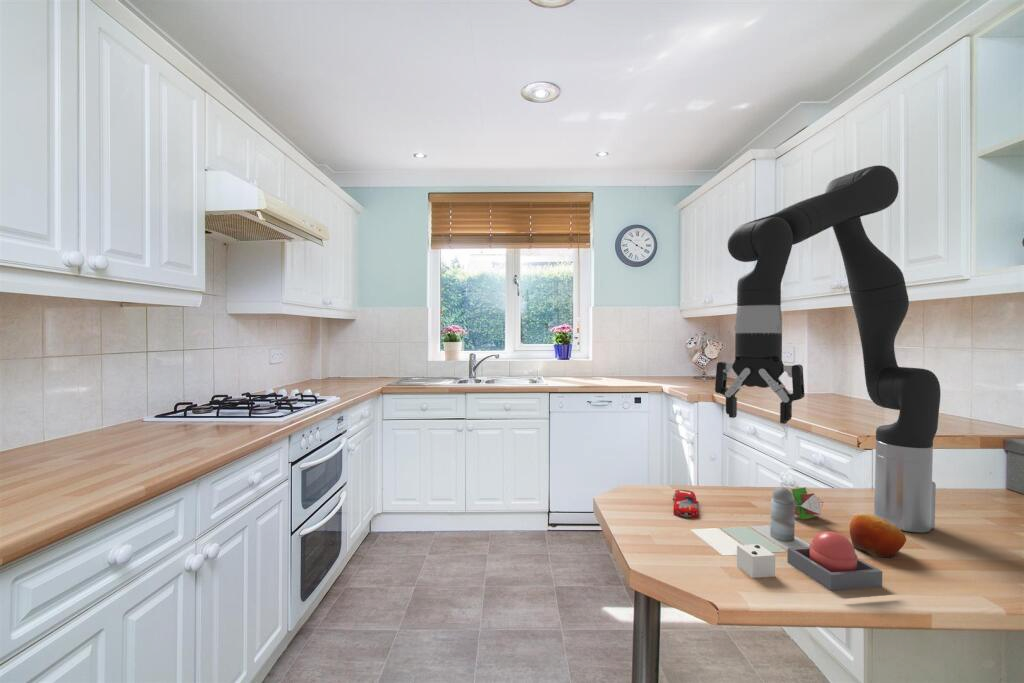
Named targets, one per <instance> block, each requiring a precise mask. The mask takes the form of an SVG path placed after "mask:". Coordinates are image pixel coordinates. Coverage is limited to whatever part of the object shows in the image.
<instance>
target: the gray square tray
mask: <svg viewBox="0 0 1024 683" xmlns="http://www.w3.org/2000/svg"><path fill="white" fill-rule="evenodd" d="M809 554H810V547H797V548H788V551H787V556H786V557H787V560H786V562H787V564H789V565H791V566H792V567H794V569H795V568H796V569H797V570H798V571H799V572H802V573H803V574H805V576H807V577H809V578H810V579H812V580H814V581H815V582H817V583H818V584H820V586H822V587H824V588H825V589H827V590H828V591H830V592H832V591H833V592H836V591H846V590H860V589H861V590H862V589H874V588H882V587H883V570H881V569H879V568H877V567H875V566H873V565H872V564H870V563H868V562H867V561H864V560H862V559H860V558H859V557H857V571H844V572H830V571H828V570H827V569H825V568H823V567H822V566H820V565H819V564H817V563H815V562H814V561H812V560H810V559H809Z"/></svg>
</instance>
